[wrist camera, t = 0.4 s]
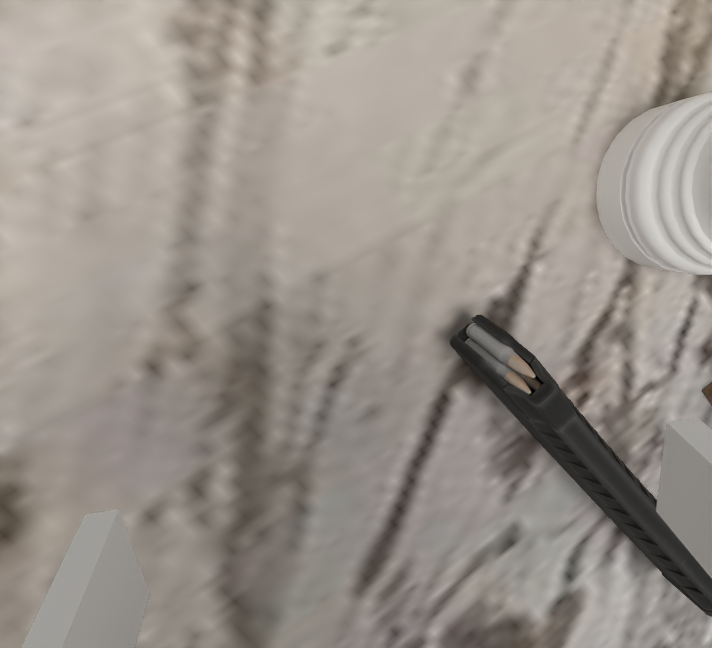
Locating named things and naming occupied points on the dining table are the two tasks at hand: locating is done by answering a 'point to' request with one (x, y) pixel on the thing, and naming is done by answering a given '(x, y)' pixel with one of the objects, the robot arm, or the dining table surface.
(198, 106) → the dining table surface
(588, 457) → the magazine
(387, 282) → the dining table surface
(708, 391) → the stand
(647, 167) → the honey pot
